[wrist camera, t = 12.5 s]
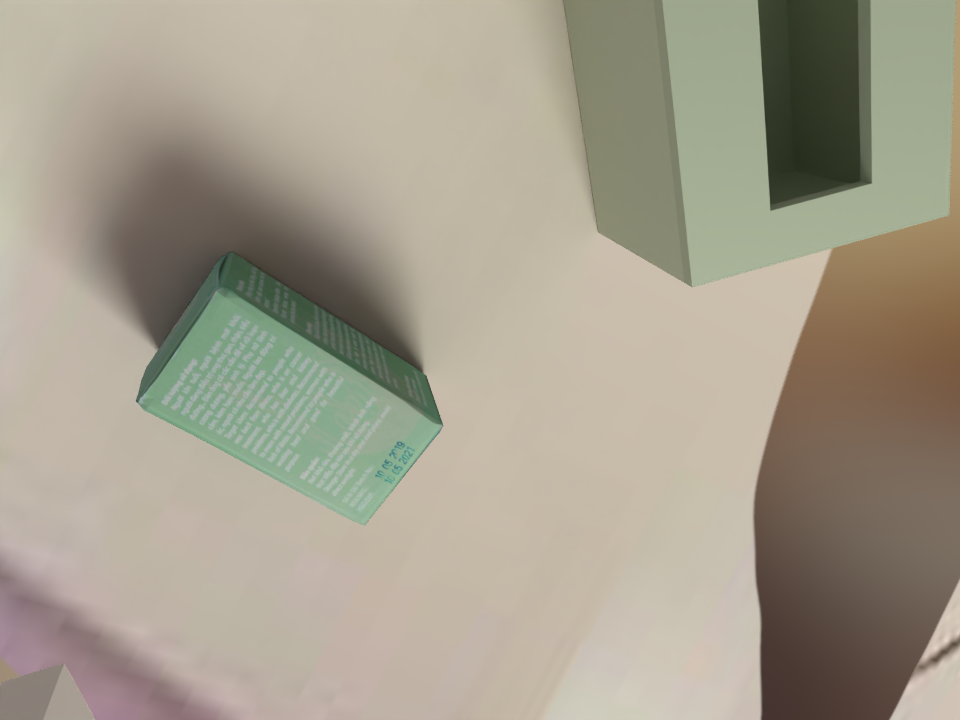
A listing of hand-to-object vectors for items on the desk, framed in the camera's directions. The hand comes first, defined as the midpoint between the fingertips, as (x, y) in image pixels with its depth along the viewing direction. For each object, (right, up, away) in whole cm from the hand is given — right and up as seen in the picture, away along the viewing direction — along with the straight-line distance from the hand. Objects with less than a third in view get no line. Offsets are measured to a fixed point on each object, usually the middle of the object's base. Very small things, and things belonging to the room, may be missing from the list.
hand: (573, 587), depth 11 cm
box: (-12, +3, +34) cm, 37 cm away
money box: (+10, +20, +33) cm, 40 cm away
